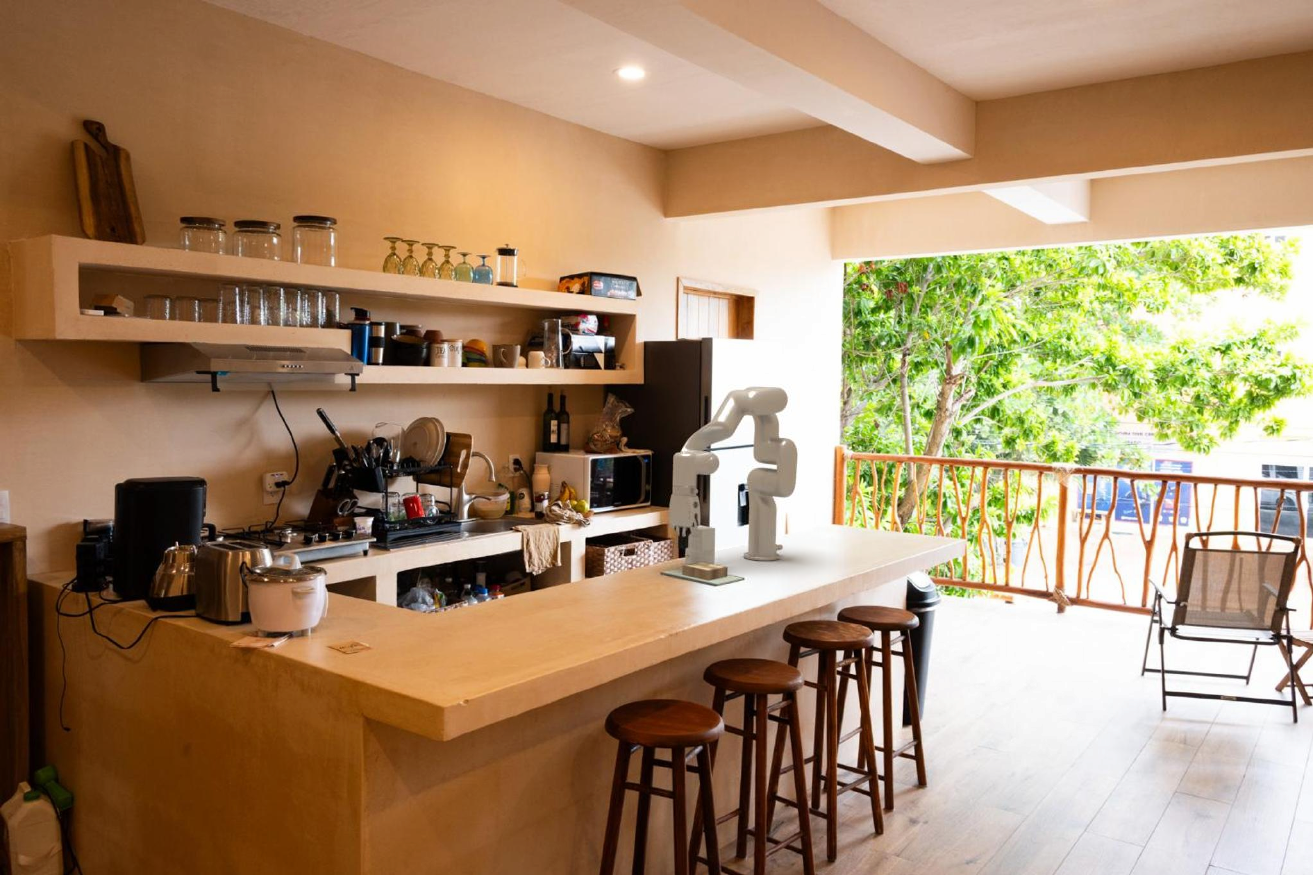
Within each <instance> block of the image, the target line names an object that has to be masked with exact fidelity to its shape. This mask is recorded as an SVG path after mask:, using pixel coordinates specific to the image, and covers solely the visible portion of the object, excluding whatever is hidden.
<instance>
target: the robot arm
mask: <svg viewBox="0 0 1313 875" xmlns="http://www.w3.org/2000/svg"><path fill="white" fill-rule="evenodd" d="M788 401H789V397H788V394H787V392H786V391H785V390H784V389H783V388H781V387H777V386H776V387H773V386H749V387H746V388H744V389H734V390H731V391H730V392H728V393H727V395H726V396H725V398H724V399H723V401H722V402H721V404H720V406H719V408H718V409H717V411H716V413H715V414H714V416H713V418H711V421H710V422H708V423H707V424H705V425H704V426H702V427H700V429H698V430H697V431H696V432H694V433H693V434H691V436H690V437H689V438H688V439H687V440H686V441H685V443H684V445H683V447H682V449H681V450H680V452H676V453H675V454H674V455H673V458H672V459H673V460H672V462H673V464H672V468H673V469H672V494H671V496H670V501H669V505H668V506H669V508H668V522H669V527H670V529H673V530H674V531H675V533H676V535H677V536H678V538H677V539H678V540H677V544H678V545H677V548H678V549H681V550H686V548H688V541H689V536H690V534H691V533H692V532H694V531H697V530H698V529H697V526H700V525H701V506H700V499H699V496H698V495H697V494H698V493H699V490H698V489H697V475H705V476H707V475H708V476H709V475H712V474H714V473H716V472H717V470H718V469H719V468H720V460H719V457H718V455H716V454H715V453H713V452H710V451H705V449H707V448H708V447H710V446H711V445H713V444H716V443H719V442H722V441H725V440H727V439H729V438H731V437H733V435H734V433H735V432H736V430H737V428H738V426H739V425H740V423H741V421H742V420H743V419H744V417H745V416H751V417H752V418H753V423H754V424H753V425H754V433H753V434H754V435H753V449H752V450H753V458H754V460H755V461H756V462H757V463H759V464H763V465H772V466H776V468H772V467H771V468H769V467H756V468H754V469H753V468H752V469H751V470H750V471H749V473H748V475H747V476H746V477H747V478H746V487H747V491H748V492H747V493H748V502H749V503H748V504H749V505H748V506H749V510H748V512H749V513H748V543H747V544H748V546H747V548H748V549H747V550H748V551H746V552H744V553H743V558H745V559H747V560H750V561H751V560H753V561H761V562H762V561H763V562H765V561H766V562H768V561H769V562H770V561H777V560H779V559H780V558H781V557H780V556H781V555H780V554H779V553H777V552H778V551H781V550H783V548H784V546H783V545H782V544H777V542H776V541H777V540H776V539H777V516H778V515H777V511H778V507H777V504H776V501H775V498H776V497H777V498H782V499H783V498H789V497H790V496H792V495H793V493H794V491H795V489H796V483H797V472H798V471H797V469H798V449H797V446H796V443H795V442H794V441H793V440H792V439H790V438H786V437H780V421H779V419H778V416H777V413H781V412H782V411H783V410H785V409H786V407H787V405H788ZM774 497H775V498H774ZM691 527H692V528H691Z"/></svg>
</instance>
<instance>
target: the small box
mask: <svg viewBox="0 0 1313 875" xmlns="http://www.w3.org/2000/svg"><path fill="white" fill-rule="evenodd" d="M691 528H692V527H691ZM697 529H698V530H697V531H694V532H692V533H691V534H690V536H689V541H688V548H685V553H684V555H685V556H684V557H685V558H684V559H685V560H684V562H685V564H684V565H687V564H692V563H698V562H705V563H710V564H715V560H716V559H715V557H716V555H715V554H716V553H715V552H716V550H715V548H716V528H715V527H712V526H705V525H702V524H700V526H697ZM715 565H716V564H715Z"/></svg>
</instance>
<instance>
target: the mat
mask: <svg viewBox="0 0 1313 875" xmlns="http://www.w3.org/2000/svg"><path fill="white" fill-rule="evenodd" d="M659 573H660V574H659V575H662V576H668V577H671V578H677V579H679V580H685V581H690V582H694V583H699V584H703V585H708V586H712V587H719V586H723V585H727V584H732V583H736V582H741V581H745V577H742V576H738V575H732V574H728V573H727V577H723V578H718V579H713V580H709V581H708V580H704V579H699V578H695V577H690V576H685V575H682V567H681V568H677V569H671V570H665V571H660V572H659Z"/></svg>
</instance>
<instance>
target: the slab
mask: <svg viewBox="0 0 1313 875" xmlns="http://www.w3.org/2000/svg"><path fill="white" fill-rule="evenodd" d="M681 568H682V575H685V576H690V577H695V578H699V579H704V580H708V581H709V580H713V579H718V578H723V577H727V574H728V572H729V571H728V568H729V567H728V566H724V565H719V564H710V563H705V562H698V563H692V564H687V565H685V564H683V565H682V566H681Z"/></svg>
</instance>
